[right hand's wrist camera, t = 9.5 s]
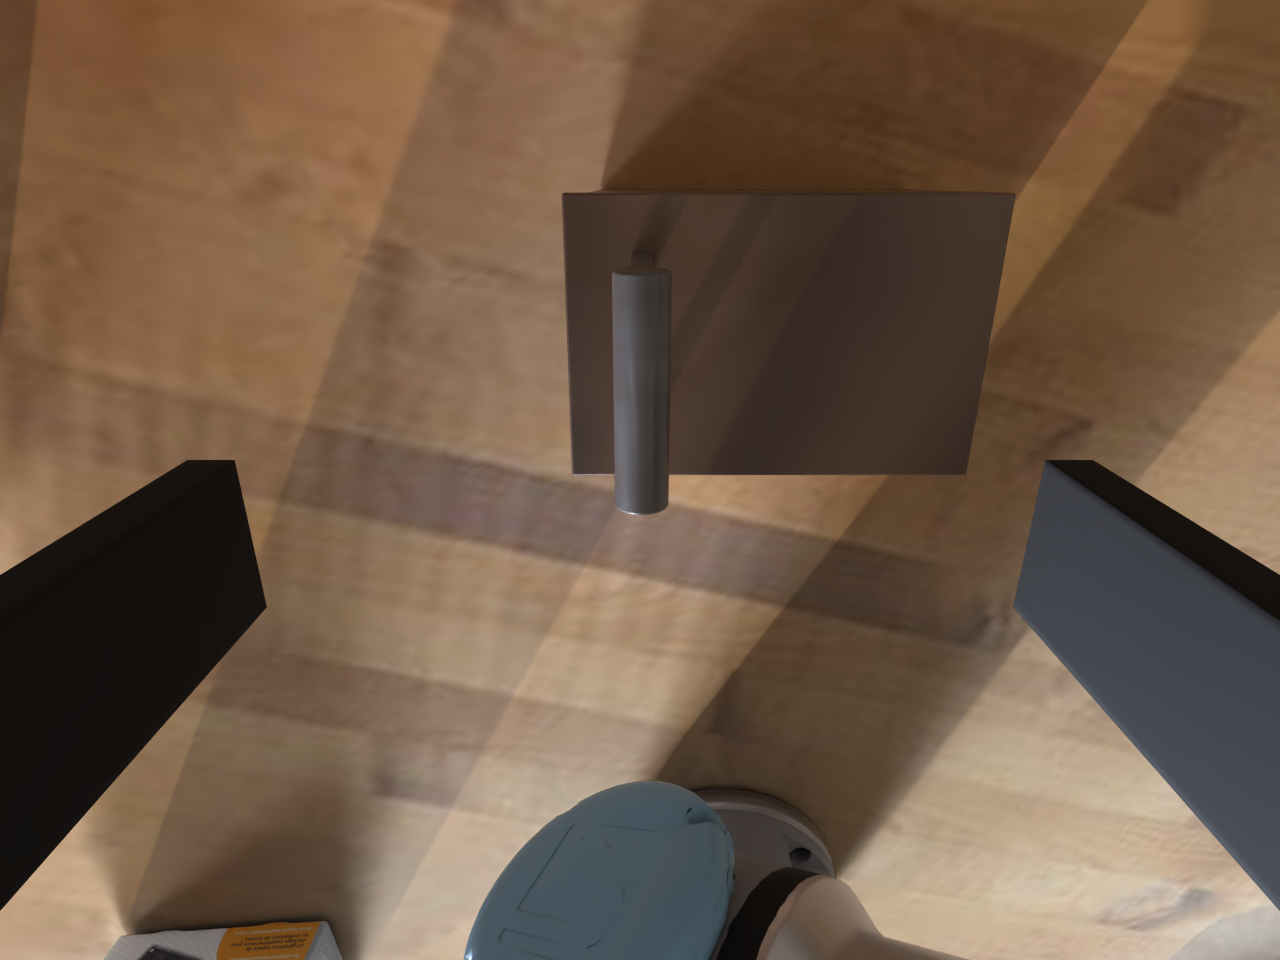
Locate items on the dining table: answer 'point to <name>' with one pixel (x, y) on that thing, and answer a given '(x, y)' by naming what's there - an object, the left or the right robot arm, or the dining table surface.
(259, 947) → the hard drive box
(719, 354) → the lid
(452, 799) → the dining table surface
